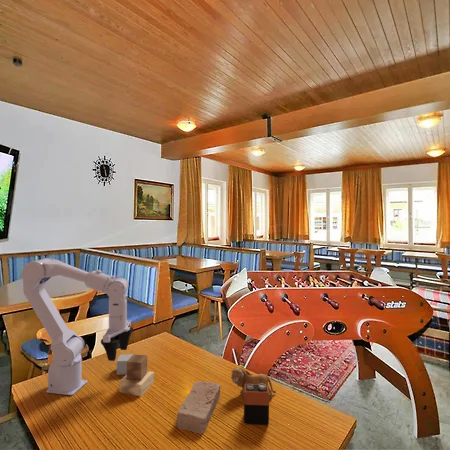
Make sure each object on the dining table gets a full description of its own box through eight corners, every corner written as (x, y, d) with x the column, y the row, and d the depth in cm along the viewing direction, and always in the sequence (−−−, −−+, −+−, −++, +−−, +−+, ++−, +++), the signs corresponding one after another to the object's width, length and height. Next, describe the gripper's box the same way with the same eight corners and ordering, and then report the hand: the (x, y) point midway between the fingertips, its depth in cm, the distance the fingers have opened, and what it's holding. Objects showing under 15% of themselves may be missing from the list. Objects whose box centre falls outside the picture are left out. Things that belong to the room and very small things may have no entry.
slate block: (116, 374, 103) (116, 361, 103) (120, 367, 108) (120, 354, 108) (130, 374, 104) (130, 360, 104) (133, 367, 109) (133, 354, 109)
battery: (269, 426, 78) (269, 390, 78) (244, 424, 79) (244, 389, 79) (267, 415, 83) (267, 381, 83) (243, 414, 83) (244, 380, 83)
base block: (119, 393, 93) (119, 380, 93) (133, 379, 101) (133, 368, 101) (141, 397, 91) (141, 385, 91) (153, 383, 99) (154, 372, 99)
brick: (204, 435, 75) (204, 417, 75) (175, 429, 77) (175, 412, 77) (220, 397, 91) (221, 383, 91) (196, 393, 93) (196, 379, 93)
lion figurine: (232, 401, 89) (232, 372, 89) (230, 391, 94) (230, 364, 94) (278, 398, 90) (278, 370, 90) (273, 388, 96) (274, 362, 95)
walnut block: (126, 379, 94) (126, 361, 94) (133, 371, 99) (133, 354, 99) (141, 380, 93) (141, 362, 93) (147, 372, 98) (147, 355, 98)
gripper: (117, 323, 89) (117, 366, 89) (138, 308, 103) (138, 346, 103) (96, 321, 90) (96, 364, 90) (120, 307, 104) (120, 344, 104)
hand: (117, 354), depth 97 cm, fingers open, 7 cm apart
